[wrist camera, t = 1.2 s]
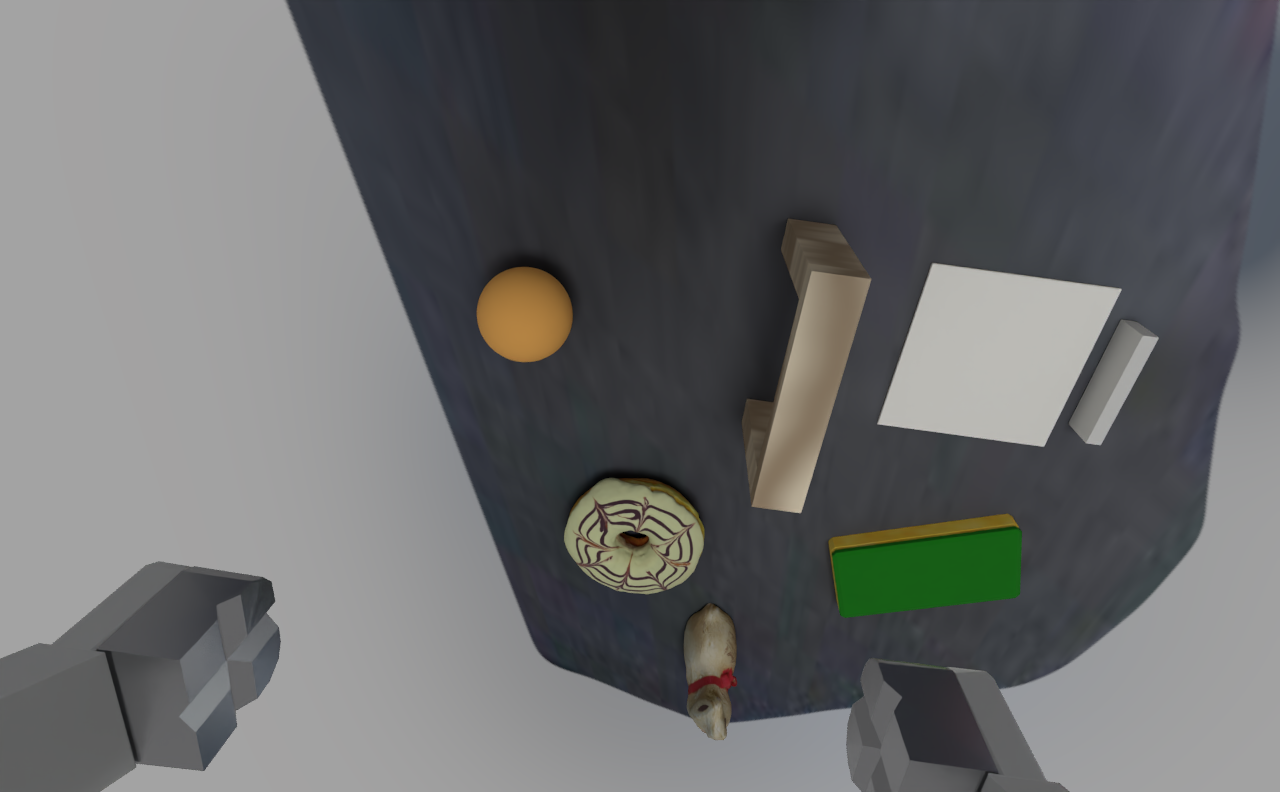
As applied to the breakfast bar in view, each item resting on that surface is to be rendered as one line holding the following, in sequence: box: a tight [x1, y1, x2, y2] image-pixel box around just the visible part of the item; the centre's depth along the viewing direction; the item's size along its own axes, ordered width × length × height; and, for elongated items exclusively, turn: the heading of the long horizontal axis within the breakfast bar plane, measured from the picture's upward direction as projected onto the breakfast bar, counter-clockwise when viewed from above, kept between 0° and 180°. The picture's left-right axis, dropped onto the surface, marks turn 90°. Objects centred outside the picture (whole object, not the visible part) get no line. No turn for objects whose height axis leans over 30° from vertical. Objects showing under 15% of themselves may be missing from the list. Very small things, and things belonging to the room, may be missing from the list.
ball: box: [477, 267, 573, 362], centre depth 44 cm, size 6×6×6 cm
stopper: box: [1068, 319, 1159, 445], centre depth 46 cm, size 8×1×2 cm, turn 173°
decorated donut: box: [564, 478, 704, 594], centre depth 54 cm, size 10×11×4 cm
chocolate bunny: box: [684, 603, 737, 740], centre depth 57 cm, size 6×8×10 cm
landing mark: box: [877, 263, 1122, 447], centre depth 47 cm, size 12×12×1 cm
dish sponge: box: [828, 514, 1022, 618], centre depth 55 cm, size 7×14×2 cm, turn 103°
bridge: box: [742, 219, 871, 513], centre depth 43 cm, size 3×15×10 cm, turn 173°
